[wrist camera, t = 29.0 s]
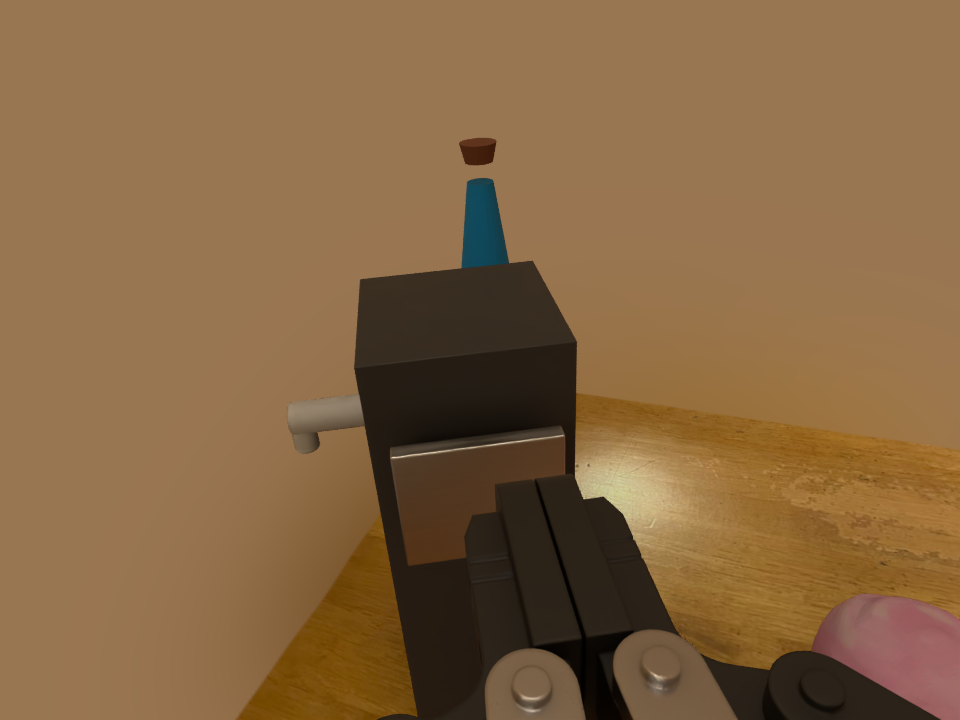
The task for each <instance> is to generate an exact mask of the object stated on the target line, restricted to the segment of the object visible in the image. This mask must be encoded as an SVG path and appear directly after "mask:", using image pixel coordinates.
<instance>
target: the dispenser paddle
mask: <svg viewBox="0 0 960 720" xmlns="http://www.w3.org/2000/svg"><path fill="white" fill-rule="evenodd" d="M390 461H391V467H392V473H393V479H394V485H395V491H396V497H397V503H398V510H399V516H400V522H401V528H402V534H403V540H404V546H405V552H406V558H407V564H408V566H412V565H419V564H426V563H433V562H440V561H447V560H454V559H461V558H466V550H465V540H464V536H465V533H466V531H467V528H468V525H469V522H470V520H471V517H472V515H477V514H484V513H492V512H496V501H495V484H499V483H507V482H514V481H522V480H529V479H532V480H533V481H534V479H535V478H542V477H550V476H557V475H565V435H564V432H563V430H562V427H561V426H560V425H558V426H550V427H543V428H535V429H527V430H519V431H511V432H504V433H496V434H488V435H480V436H473V437H465V438H457V439H449V440H441V441H434V442H426V443H418V444H410V445H402V446H395V447H391V448H390Z"/></svg>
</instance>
